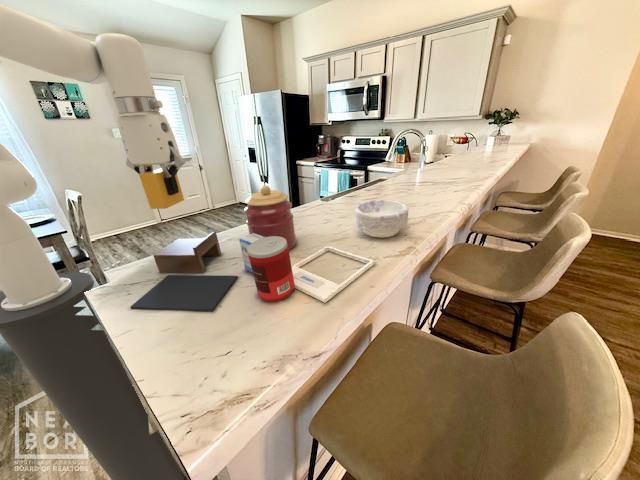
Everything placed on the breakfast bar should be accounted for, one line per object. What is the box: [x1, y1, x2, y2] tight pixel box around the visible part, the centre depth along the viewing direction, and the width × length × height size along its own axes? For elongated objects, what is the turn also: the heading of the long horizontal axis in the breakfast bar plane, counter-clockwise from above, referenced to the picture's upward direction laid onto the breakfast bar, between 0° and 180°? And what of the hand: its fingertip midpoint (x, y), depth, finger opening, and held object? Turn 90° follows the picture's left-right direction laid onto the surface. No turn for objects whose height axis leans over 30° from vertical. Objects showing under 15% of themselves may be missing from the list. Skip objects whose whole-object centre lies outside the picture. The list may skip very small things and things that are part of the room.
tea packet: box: [138, 168, 185, 210], centre depth 62 cm, size 4×7×8 cm, turn 173°
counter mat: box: [129, 274, 238, 313], centre depth 58 cm, size 18×12×1 cm, turn 83°
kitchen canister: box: [243, 185, 297, 251], centre depth 73 cm, size 13×13×18 cm
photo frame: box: [291, 245, 375, 304], centre depth 61 cm, size 15×1×18 cm
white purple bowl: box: [354, 199, 409, 239], centre depth 79 cm, size 15×15×8 cm
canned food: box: [247, 236, 295, 302], centre depth 53 cm, size 8×8×11 cm
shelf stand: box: [152, 230, 222, 274], centre depth 69 cm, size 12×10×7 cm
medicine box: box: [238, 233, 264, 274], centre depth 62 cm, size 8×4×9 cm, turn 49°
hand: (164, 193), depth 63 cm, fingers closed on tea packet, 4 cm apart
